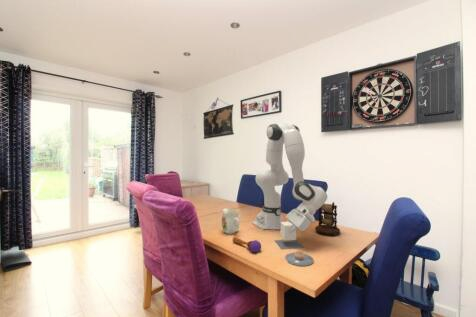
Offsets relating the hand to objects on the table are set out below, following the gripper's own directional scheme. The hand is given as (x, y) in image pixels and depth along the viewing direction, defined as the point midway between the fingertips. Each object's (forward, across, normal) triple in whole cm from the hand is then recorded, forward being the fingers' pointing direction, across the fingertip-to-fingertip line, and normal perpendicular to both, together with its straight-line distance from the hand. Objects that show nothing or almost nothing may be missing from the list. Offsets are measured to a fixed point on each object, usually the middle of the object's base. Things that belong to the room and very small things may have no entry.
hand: (287, 229), depth 128 cm
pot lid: (+6, +19, +5) cm, 20 cm away
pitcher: (+27, -24, -14) cm, 39 cm away
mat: (+5, +1, +6) cm, 8 cm away
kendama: (+22, +1, -10) cm, 25 cm away
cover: (+3, 0, +4) cm, 4 cm away
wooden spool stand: (-17, -15, +29) cm, 37 cm away
